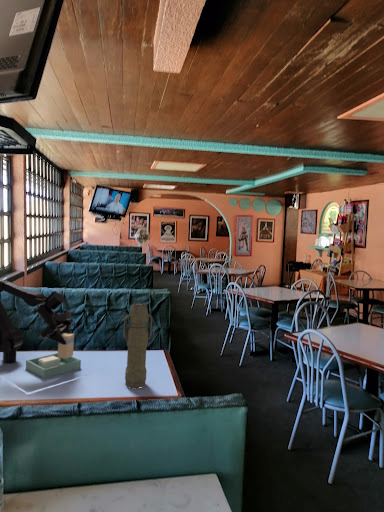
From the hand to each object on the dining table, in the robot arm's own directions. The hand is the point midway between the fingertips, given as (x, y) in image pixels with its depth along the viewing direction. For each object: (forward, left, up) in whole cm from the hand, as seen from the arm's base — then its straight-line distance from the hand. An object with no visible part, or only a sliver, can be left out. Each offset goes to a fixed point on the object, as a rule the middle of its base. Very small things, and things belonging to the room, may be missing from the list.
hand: (68, 342), depth 165 cm
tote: (-5, -4, -13) cm, 15 cm away
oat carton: (-1, -1, -7) cm, 7 cm away
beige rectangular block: (-9, -4, -12) cm, 16 cm away
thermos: (+33, +12, -13) cm, 37 cm away
